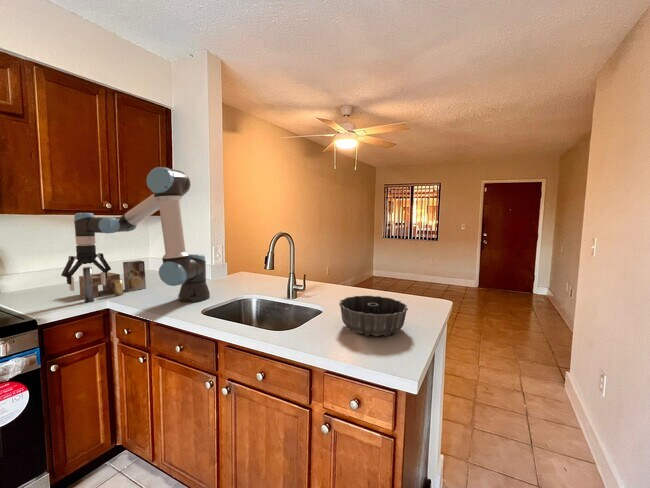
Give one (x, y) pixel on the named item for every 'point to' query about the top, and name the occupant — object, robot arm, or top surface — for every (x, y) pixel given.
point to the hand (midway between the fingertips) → (88, 287)
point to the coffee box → (134, 275)
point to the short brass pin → (118, 287)
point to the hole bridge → (97, 281)
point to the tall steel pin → (88, 284)
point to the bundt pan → (373, 314)
